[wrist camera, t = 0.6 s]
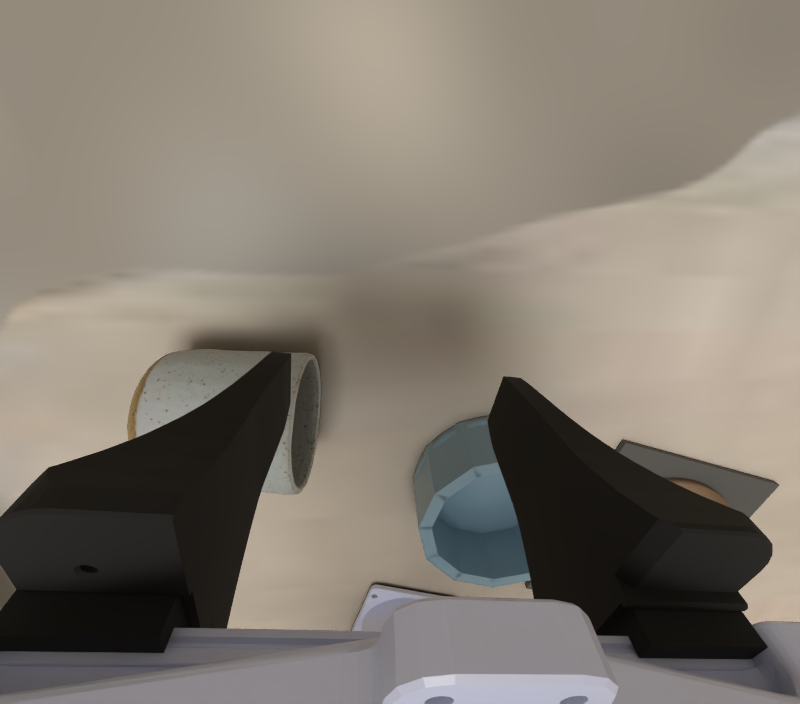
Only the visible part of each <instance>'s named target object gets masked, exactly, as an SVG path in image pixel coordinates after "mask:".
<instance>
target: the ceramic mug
mask: <svg viewBox="0 0 800 704" xmlns="http://www.w3.org/2000/svg"><path fill="white" fill-rule="evenodd" d="M269 353H271V352H270V351H229V350H218V349H192V350H185V351H178V352H173V353H170V354H167V355H165V356H163V357H162V358H160V359H159V360H157V361H156V362H155V363H154V364H153V365H152V366H151V367H150V368H149V369H148V370H147V372H146V373H145V374H144V376H143V377H142V379H141V380H140V382H139V384H138V386H137V388H136V390H135V393H134V396H133V398H132V402H131V406H130V411H129V417H128V424H127V430H128V440H132V439H134V438H137V437H139V436H141V435H144V434H146V433H148V432H151V431H153V430H155V429H157V428H159V427H161V426H163V425H165V424H167V423H169V422H171V421H173V420H176V419H178V418H180V417H181V416H183V415H185V414H187V413H189V412H190V411H192V410H194V409H196V408H197V407H199V406H201V405H203V404H204V403H206V402H207V401H209V400H210V399H212V398H213V397H215V396H216V395H218V394H219V393H220V392H222V391H223V390H225V389H226V388H228V387H229V386H230V385H232V384H233V383H234V382H235V381H237V380H238V379H239V378H240V377H242V376H243V375H244V374H246V373H247V372H248V371H249V370H250V369H252V368H253V367H254V366H255V365H256V364H257V363H259V362H260V361H261V360H262V359H263V358H264V357H266V356H267V355H268V354H269ZM282 353H288V352H282ZM320 379H321V377H320V370H319V366H318V362H317V359H316V357H315V356H314V355H312V354H310V353H291V403H290V408H289V412H288V416H287V421H286V425H285V429H284V432H283V435H282V437H281V440H280V443H279V445H278V448H277V451H276V453H275V456H274V458H273V461H272V464H271V466H270V469H269V472H268V474H267V477H266V479H265V482H264V485H263V487H262V490H261V492H266V493H275V494H284V495H289V494H298V493H300V492H301V491H302V489H303V488H304V487H305V485H306V483H307V480H308V478H309V475H310V472H311V468H312V464H313V459H314V454H315V449H316V443H317V436H318V428H319V420H320V399H321V382H320Z"/></svg>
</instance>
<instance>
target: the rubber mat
mask: <svg viewBox="0 0 800 704" xmlns="http://www.w3.org/2000/svg"><path fill="white" fill-rule="evenodd" d="M616 451H617V452H619V453H620V454H622V455H624V456H625V457H627V458H629V459H630V460H632V461H634V462H635V463H637V464H639V465H641V466H643V467H644V468H646V469H648V470H650V471H652V472H653V473H655V474H657V475H659V476H661V477H663V478H685V479H691V480H695V481H698V482H701V483H703V484H705V485H707V486H709V487H711V488H712V489H713V490H714V491H716V492H717V493H718V494H719V495H720V496H721V497H722V498H723V499H725V501H726V502H727V503H728V504H729V505H730V507H731V508H732V509H735V510H737V511H740V512H742V513H744V514H745V515H746V516H748V518H750V517H751V515H752V514H753V513H754V512H755V511H756V510H757V509H758V508H759V507H760V506H761V505H762V504H763V502H764V501H765V500H766V499H767V498H768V497H769V496H770V495H771V494H772V493H773V492H774V491H775V489H776V488H777V487H778V486H779V484H777V483H776V482H775V481H771V480H768V479H764V478H761V477H757V476H753V475H750V474H746V473H742V472H739V471H735V470H731V469H728V468H724V467H721V466H717V465H713V464H710V463H706V462H702V461H699V460H695V459H691V458H688V457H684V456H681V455H677V454H673V453H670V452H666V451H662V450H659V449H655V448H651V447H648V446H644V445H640V444H637V443H633V442H630V441H626V440H622V441H621V443H620V444H619V446H618V447H617V449H616ZM525 585H526V588H527V589H532V585H531V580H530V581H527V582H526V583H525Z"/></svg>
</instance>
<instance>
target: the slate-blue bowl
mask: <svg viewBox="0 0 800 704" xmlns="http://www.w3.org/2000/svg"><path fill="white" fill-rule="evenodd" d="M488 418H489V416H484V417H478V418H474V419H470V420H467V421H464V422H459V423H457V424H456V425H455V426H453V427H451V428H449V429H448V430H446V431H445V432H443V433H442V434H440V435H439V436H438V437H437V438H436V439H434V440H433V441H432V443H430V444H429V445H427V446H426V448H425V451H424V452H423V454H422V456H421V457H420V459H419V461H418V464H417V467H416V470H415V474H414V476H413V483H414V492H415V501H416V510H417V519H418V528H419V532H420V536H421V540H422V543H423V547H424V551H425V555H426V559H427V560H428V561H429V562H431V563H432V564H433V565H435V566H436V567H437V568H439V569H440V570H441V571H442V572H444V573H445V574H446V575H448V576H449V577H450V578H452V579H453V580H455V581H461V582H466V583H472V584H477V585H483V586H488V587H497V586H502V585H508V584H513V583H519V582H525V581H530V580H531V579H530V574H529V569H528V564H527V560H526V555H525V550H524V546H523V541H522V537H521V533H520V529H519V525H518V521H517V517H516V513H515V510H514V507H513V504H512V501H511V498H510V495H509V492H508V490H507V487H506V484H505V481H504V479H503V476H502V473H501V470H500V467H499V465H498V462H497V459H496V456H495V453H494V450H493V447H492V443H491V438H490V433H489V428H488V422H487V421H488Z"/></svg>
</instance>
